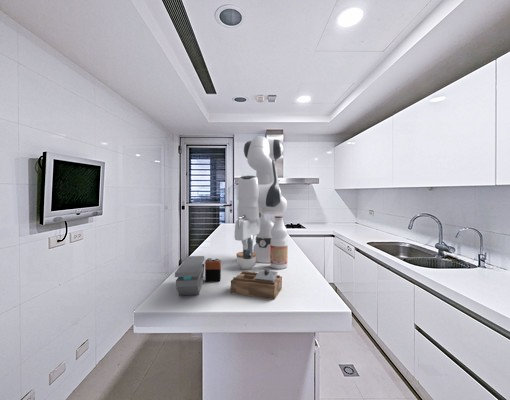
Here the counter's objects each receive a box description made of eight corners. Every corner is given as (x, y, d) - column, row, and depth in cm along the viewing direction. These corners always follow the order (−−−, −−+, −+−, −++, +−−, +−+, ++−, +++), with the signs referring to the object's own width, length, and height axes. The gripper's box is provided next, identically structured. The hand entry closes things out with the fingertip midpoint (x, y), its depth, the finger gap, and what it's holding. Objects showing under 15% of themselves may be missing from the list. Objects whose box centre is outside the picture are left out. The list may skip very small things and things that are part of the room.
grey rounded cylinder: (245, 256, 106) (245, 232, 106) (253, 257, 105) (254, 233, 105) (241, 258, 103) (241, 234, 103) (250, 259, 101) (250, 234, 101)
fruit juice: (278, 270, 131) (279, 216, 131) (266, 266, 138) (266, 215, 138) (291, 267, 137) (291, 215, 137) (278, 263, 144) (279, 214, 144)
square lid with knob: (261, 276, 106) (261, 267, 106) (277, 277, 103) (277, 269, 103) (255, 281, 99) (255, 272, 99) (273, 283, 97) (273, 273, 97)
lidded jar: (233, 269, 132) (233, 252, 131) (239, 264, 142) (239, 248, 142) (253, 271, 129) (253, 253, 129) (258, 265, 139) (258, 249, 139)
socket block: (242, 283, 111) (242, 270, 111) (281, 288, 106) (281, 274, 105) (230, 293, 100) (230, 278, 100) (274, 299, 94) (274, 284, 94)
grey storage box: (197, 301, 92) (197, 272, 92) (175, 302, 91) (175, 272, 91) (204, 279, 117) (204, 255, 117) (187, 279, 116) (187, 256, 116)
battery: (206, 278, 117) (206, 257, 117) (220, 278, 118) (220, 257, 117) (204, 282, 113) (204, 259, 113) (220, 281, 113) (220, 259, 113)
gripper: (246, 216, 93) (245, 254, 93) (262, 213, 112) (262, 244, 112) (230, 216, 95) (230, 252, 95) (249, 213, 114) (249, 243, 114)
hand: (247, 248), depth 104 cm, fingers closed on grey rounded cylinder, 4 cm apart
